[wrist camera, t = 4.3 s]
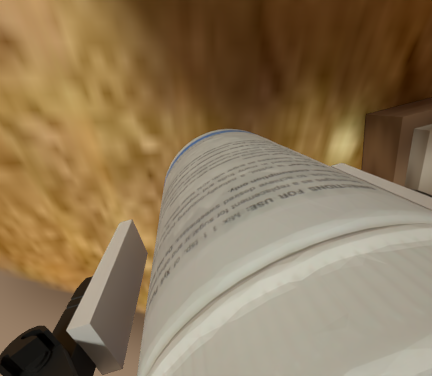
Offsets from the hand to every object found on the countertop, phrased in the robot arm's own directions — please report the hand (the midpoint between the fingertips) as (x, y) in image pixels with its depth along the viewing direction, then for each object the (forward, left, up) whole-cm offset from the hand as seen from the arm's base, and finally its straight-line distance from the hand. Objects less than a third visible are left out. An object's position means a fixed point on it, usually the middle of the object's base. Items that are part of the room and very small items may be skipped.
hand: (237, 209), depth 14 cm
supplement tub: (0, 0, -4) cm, 4 cm away
